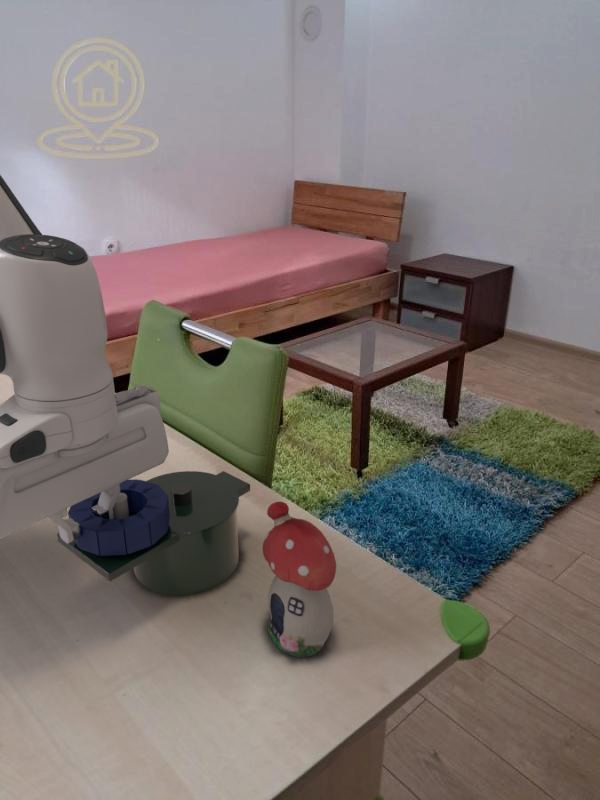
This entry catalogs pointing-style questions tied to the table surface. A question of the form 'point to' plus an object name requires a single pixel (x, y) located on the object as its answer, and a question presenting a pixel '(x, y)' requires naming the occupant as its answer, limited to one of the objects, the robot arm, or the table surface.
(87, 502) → the tape roll
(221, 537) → the pot
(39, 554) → the table surface
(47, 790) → the table surface
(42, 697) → the table surface
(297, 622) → the decorative ornament
